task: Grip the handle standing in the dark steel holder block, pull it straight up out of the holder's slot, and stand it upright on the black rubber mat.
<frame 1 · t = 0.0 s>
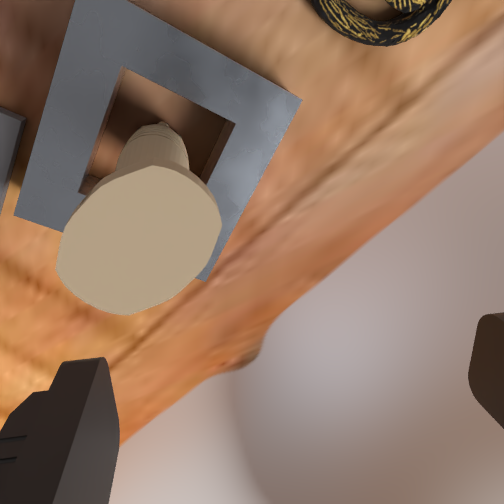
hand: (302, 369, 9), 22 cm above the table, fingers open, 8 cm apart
handle: (158, 143, 28), resting in holder
holder: (158, 144, 28), on the table
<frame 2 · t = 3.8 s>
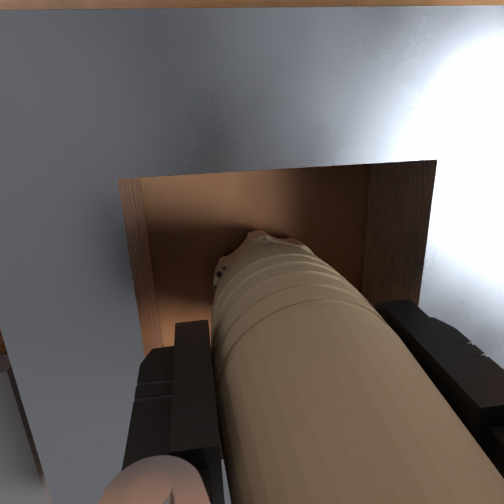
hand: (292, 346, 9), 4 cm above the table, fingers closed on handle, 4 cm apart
handle: (261, 270, 14), resting in holder, touching gripper
holder: (262, 273, 13), on the table
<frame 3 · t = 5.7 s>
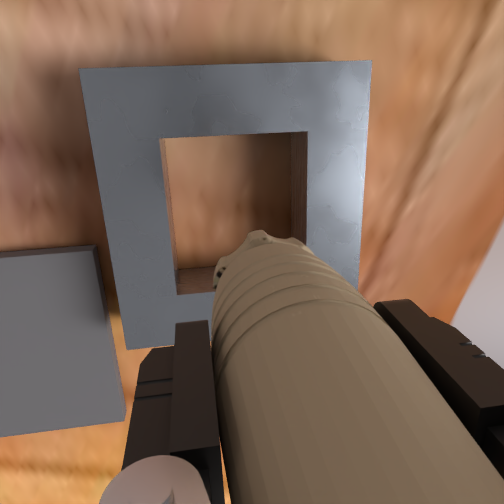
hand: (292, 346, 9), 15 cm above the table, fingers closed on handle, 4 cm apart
mat: (11, 345, 25), on the table
handle: (261, 270, 14), point 11 cm above the table, touching gripper
holder: (232, 201, 24), on the table
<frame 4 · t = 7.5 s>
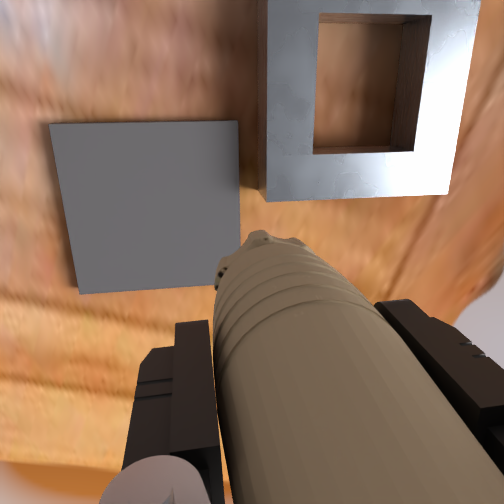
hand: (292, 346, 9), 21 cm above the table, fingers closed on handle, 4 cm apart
mat: (156, 208, 29), on the table
handle: (262, 270, 14), point 17 cm above the table, touching gripper
holder: (349, 88, 28), on the table
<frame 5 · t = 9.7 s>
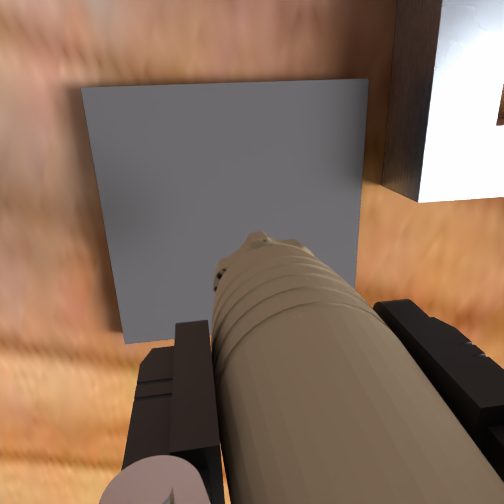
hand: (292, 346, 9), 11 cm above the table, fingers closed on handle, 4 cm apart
mat: (235, 215, 20), on the table
handle: (261, 271, 14), point 7 cm above the table, touching gripper
when the fingers open (7 cm above the table, at t = 11.4 s): handle drops 1 cm, resting on mat.
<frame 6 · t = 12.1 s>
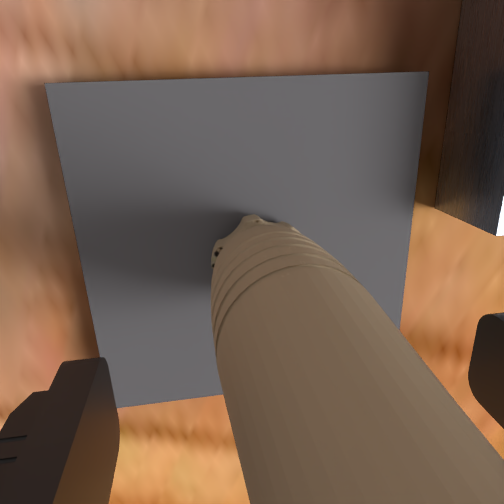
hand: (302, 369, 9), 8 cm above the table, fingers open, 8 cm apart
mat: (250, 247, 16), on the table
handle: (254, 252, 15), point 1 cm above the table, touching mat
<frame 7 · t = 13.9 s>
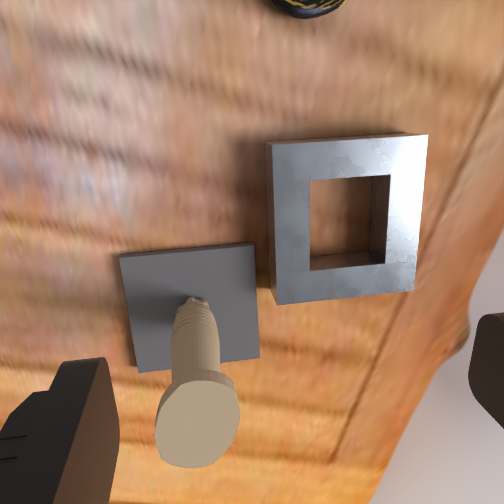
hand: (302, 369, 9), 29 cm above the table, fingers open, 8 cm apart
mat: (194, 306, 39), on the table
handle: (194, 309, 38), point 1 cm above the table, touching mat
holder: (335, 214, 38), on the table
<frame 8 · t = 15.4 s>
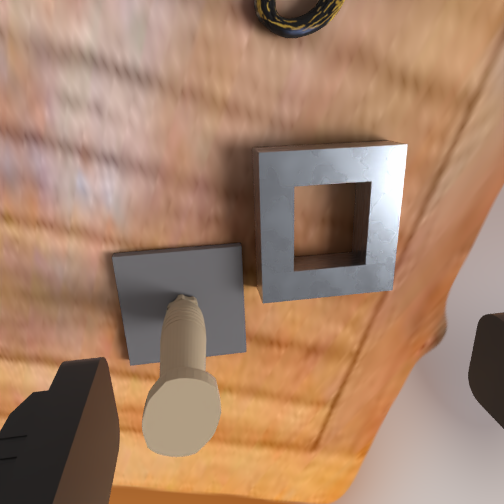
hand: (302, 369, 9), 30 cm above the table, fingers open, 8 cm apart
mat: (184, 303, 41), on the table
handle: (184, 306, 40), point 1 cm above the table, touching mat
holder: (319, 217, 40), on the table
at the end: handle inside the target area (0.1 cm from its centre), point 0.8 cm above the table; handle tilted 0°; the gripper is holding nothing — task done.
